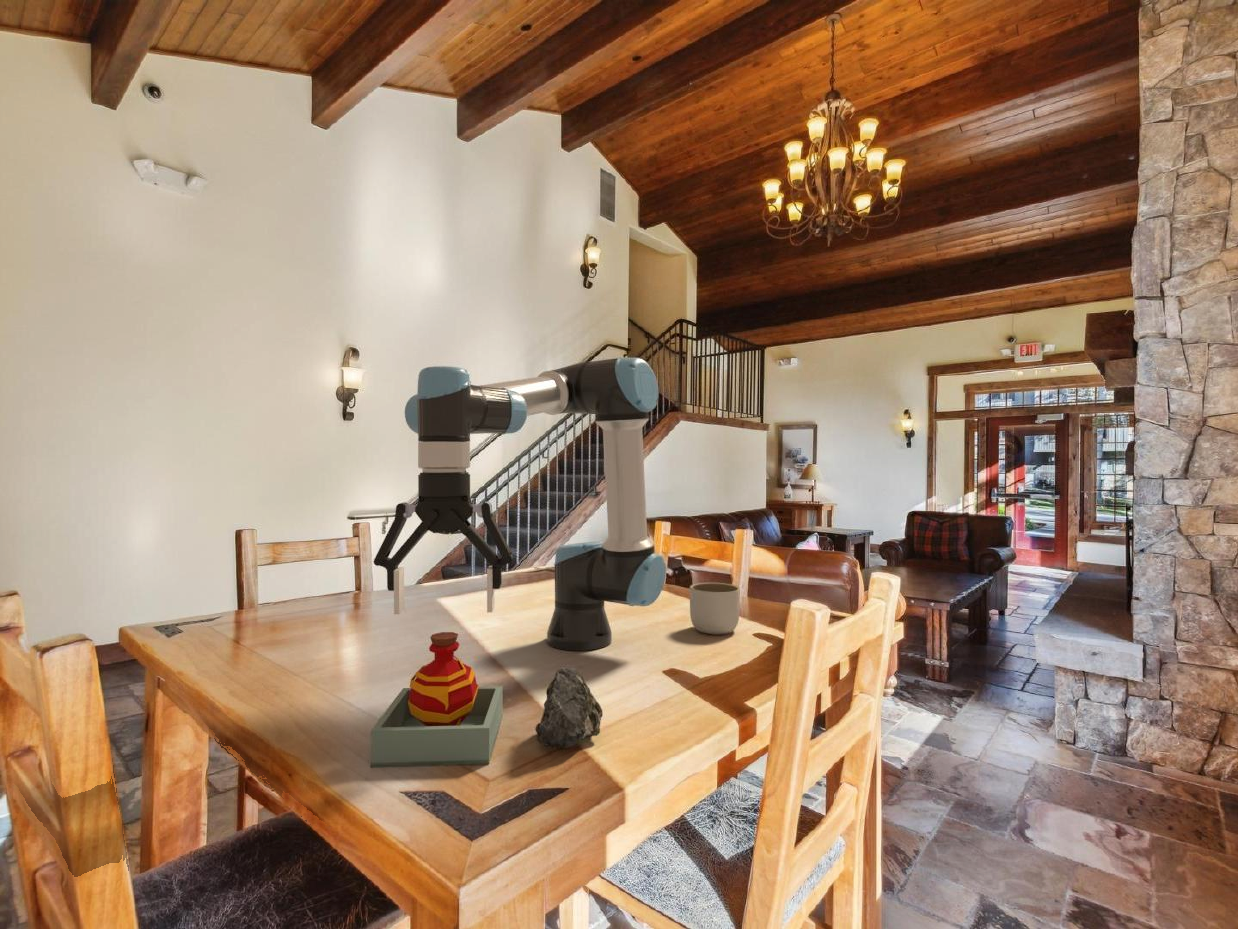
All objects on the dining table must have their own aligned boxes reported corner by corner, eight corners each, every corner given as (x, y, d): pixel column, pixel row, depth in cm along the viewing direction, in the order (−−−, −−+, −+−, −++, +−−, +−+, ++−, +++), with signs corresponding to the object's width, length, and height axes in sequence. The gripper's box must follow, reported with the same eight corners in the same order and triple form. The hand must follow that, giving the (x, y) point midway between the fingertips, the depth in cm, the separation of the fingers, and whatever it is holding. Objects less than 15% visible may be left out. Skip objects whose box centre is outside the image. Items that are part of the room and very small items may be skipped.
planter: (703, 621, 163) (704, 580, 163) (747, 629, 156) (747, 586, 156) (680, 632, 153) (680, 588, 153) (726, 640, 145) (726, 594, 145)
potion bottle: (491, 726, 96) (492, 630, 96) (452, 755, 86) (453, 648, 86) (434, 716, 99) (435, 624, 99) (391, 744, 89) (392, 641, 89)
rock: (538, 703, 100) (555, 655, 96) (595, 718, 100) (613, 671, 97) (526, 764, 88) (544, 712, 85) (589, 781, 89) (610, 730, 86)
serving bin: (502, 716, 101) (502, 686, 101) (489, 764, 85) (489, 728, 85) (403, 718, 100) (403, 688, 100) (370, 767, 84) (370, 730, 84)
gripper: (529, 469, 97) (530, 603, 97) (367, 470, 95) (368, 606, 95) (526, 471, 89) (526, 615, 90) (350, 471, 88) (351, 619, 88)
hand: (445, 611), depth 93 cm, fingers open, 13 cm apart
